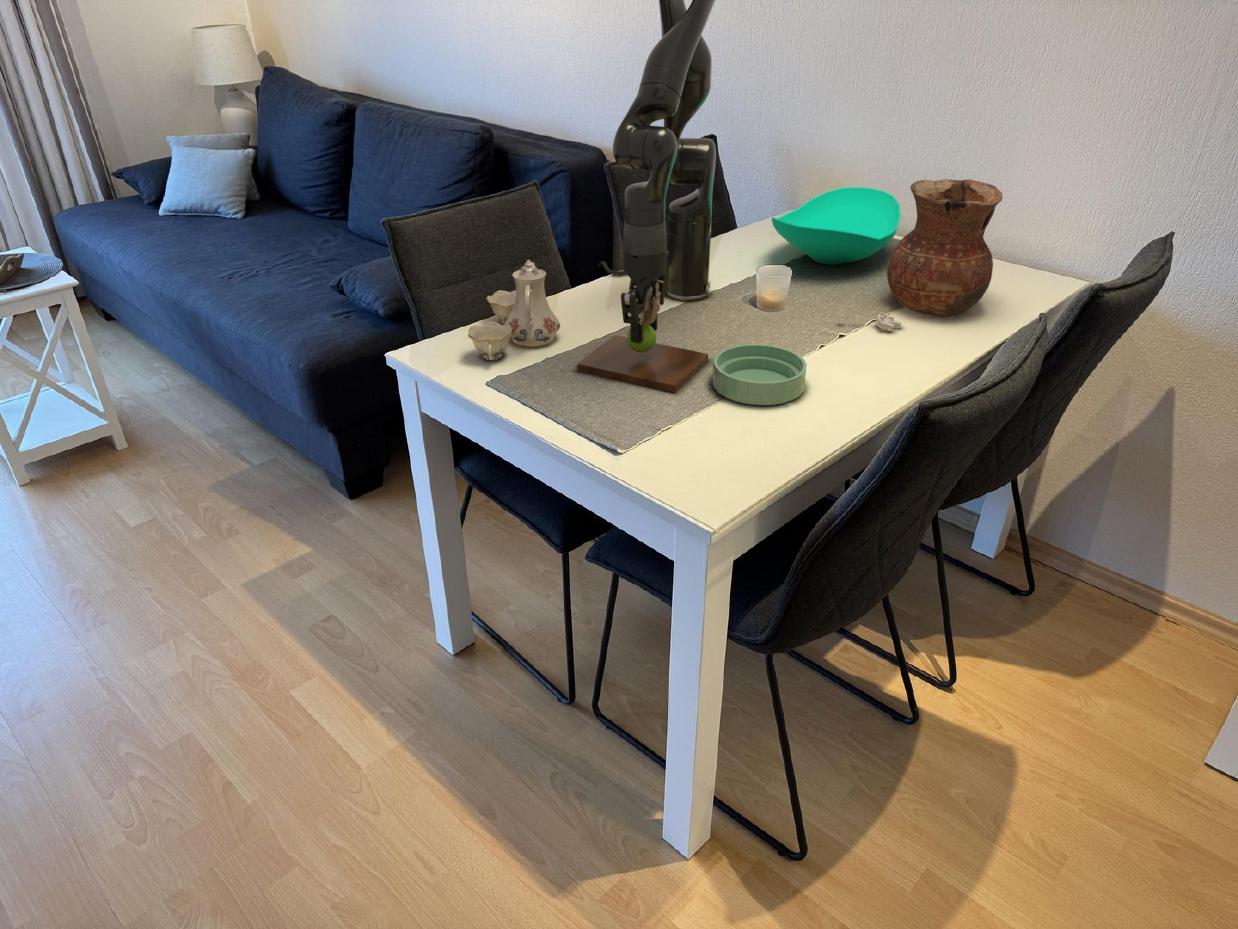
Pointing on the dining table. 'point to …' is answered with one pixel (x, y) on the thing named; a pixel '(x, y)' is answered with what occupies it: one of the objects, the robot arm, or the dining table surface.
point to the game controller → (886, 322)
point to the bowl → (759, 374)
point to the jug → (945, 248)
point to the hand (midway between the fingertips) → (643, 335)
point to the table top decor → (841, 224)
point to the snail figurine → (646, 328)
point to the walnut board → (643, 364)
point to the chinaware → (517, 316)
